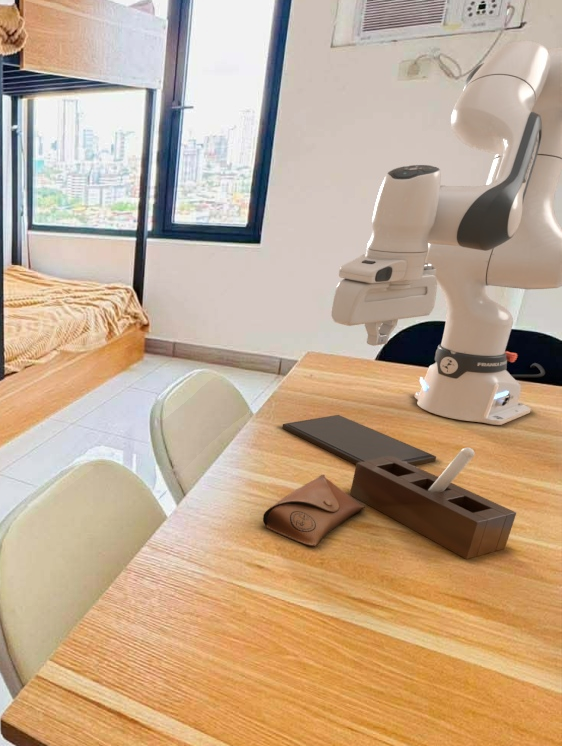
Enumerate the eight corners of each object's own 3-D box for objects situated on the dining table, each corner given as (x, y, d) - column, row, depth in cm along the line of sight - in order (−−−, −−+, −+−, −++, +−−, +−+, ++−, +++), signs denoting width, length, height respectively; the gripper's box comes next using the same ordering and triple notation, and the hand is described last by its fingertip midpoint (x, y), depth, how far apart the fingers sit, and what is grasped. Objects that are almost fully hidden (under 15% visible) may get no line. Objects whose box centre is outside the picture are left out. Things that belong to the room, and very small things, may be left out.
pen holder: (384, 487, 108) (392, 455, 105) (505, 548, 90) (517, 512, 88) (349, 494, 105) (356, 462, 103) (466, 559, 88) (477, 522, 86)
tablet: (337, 418, 136) (338, 414, 136) (435, 461, 116) (436, 455, 116) (281, 428, 132) (282, 423, 131) (374, 473, 112) (375, 468, 112)
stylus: (417, 511, 100) (473, 445, 90) (422, 519, 98) (479, 453, 89) (407, 510, 100) (462, 444, 90) (411, 518, 98) (468, 452, 89)
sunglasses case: (318, 547, 90) (300, 503, 91) (273, 550, 96) (257, 508, 96) (368, 506, 101) (352, 467, 101) (325, 511, 106) (310, 473, 107)
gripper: (420, 259, 113) (403, 333, 118) (332, 268, 107) (318, 345, 112) (455, 264, 107) (436, 342, 112) (364, 273, 101) (348, 355, 106)
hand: (376, 344), depth 112 cm, fingers closed
